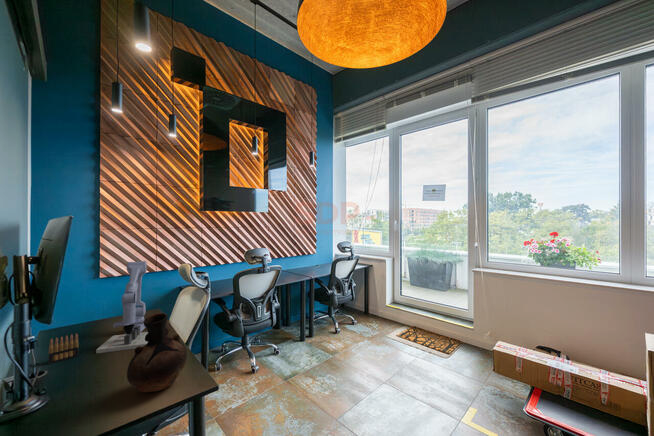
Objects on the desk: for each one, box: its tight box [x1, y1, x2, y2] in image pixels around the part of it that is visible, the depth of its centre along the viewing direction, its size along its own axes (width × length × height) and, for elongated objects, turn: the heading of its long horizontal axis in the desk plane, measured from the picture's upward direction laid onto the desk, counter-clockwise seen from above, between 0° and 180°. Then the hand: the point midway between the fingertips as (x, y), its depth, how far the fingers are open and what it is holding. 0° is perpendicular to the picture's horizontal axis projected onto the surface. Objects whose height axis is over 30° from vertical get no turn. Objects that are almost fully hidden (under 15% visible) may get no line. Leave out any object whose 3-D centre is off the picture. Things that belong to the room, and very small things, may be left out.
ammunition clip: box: [47, 333, 79, 365], centre depth 130 cm, size 11×2×12 cm, turn 135°
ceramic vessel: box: [126, 312, 188, 393], centre depth 108 cm, size 21×18×30 cm
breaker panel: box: [95, 331, 148, 354], centre depth 148 cm, size 18×22×2 cm
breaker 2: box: [134, 326, 140, 335], centre depth 154 cm, size 3×2×4 cm
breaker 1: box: [124, 333, 132, 344], centre depth 143 cm, size 3×2×4 cm
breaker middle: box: [130, 329, 137, 339], centre depth 149 cm, size 3×2×4 cm
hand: (128, 338), depth 148 cm, fingers closed
